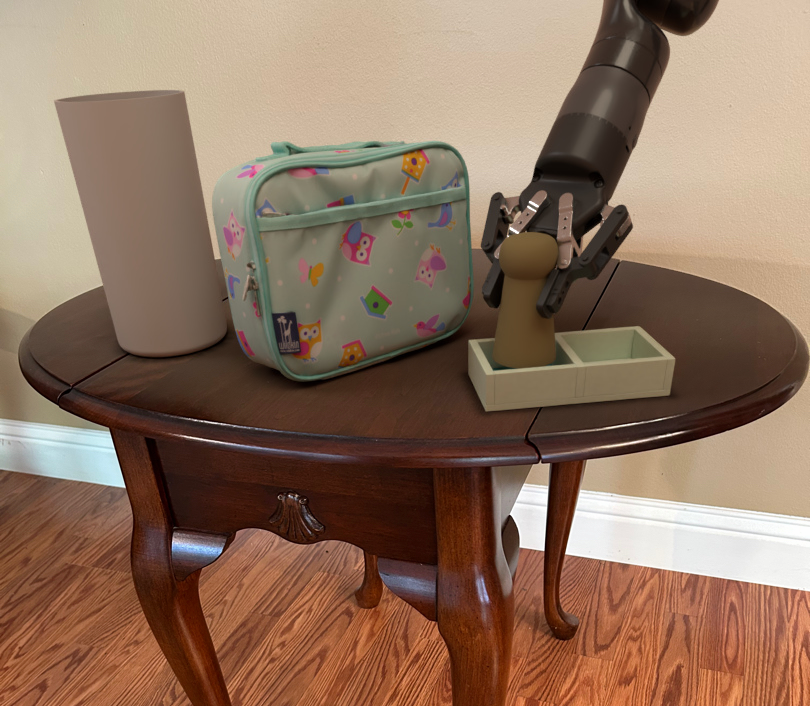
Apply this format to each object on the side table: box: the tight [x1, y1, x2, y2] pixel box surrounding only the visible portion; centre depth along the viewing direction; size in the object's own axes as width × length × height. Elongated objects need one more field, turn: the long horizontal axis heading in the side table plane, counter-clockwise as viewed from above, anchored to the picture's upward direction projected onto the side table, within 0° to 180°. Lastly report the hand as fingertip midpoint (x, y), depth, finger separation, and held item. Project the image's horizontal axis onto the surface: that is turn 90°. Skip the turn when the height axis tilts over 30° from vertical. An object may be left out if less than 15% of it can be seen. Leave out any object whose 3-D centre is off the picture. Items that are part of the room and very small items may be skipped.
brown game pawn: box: [492, 232, 559, 368], centre depth 69 cm, size 6×6×11 cm
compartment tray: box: [467, 325, 676, 412], centre depth 73 cm, size 17×9×4 cm, turn 96°
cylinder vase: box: [53, 89, 228, 358], centre depth 83 cm, size 12×12×25 cm
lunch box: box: [211, 140, 475, 382], centre depth 77 cm, size 27×10×21 cm, turn 126°
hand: (516, 308), depth 68 cm, fingers closed on brown game pawn, 5 cm apart
